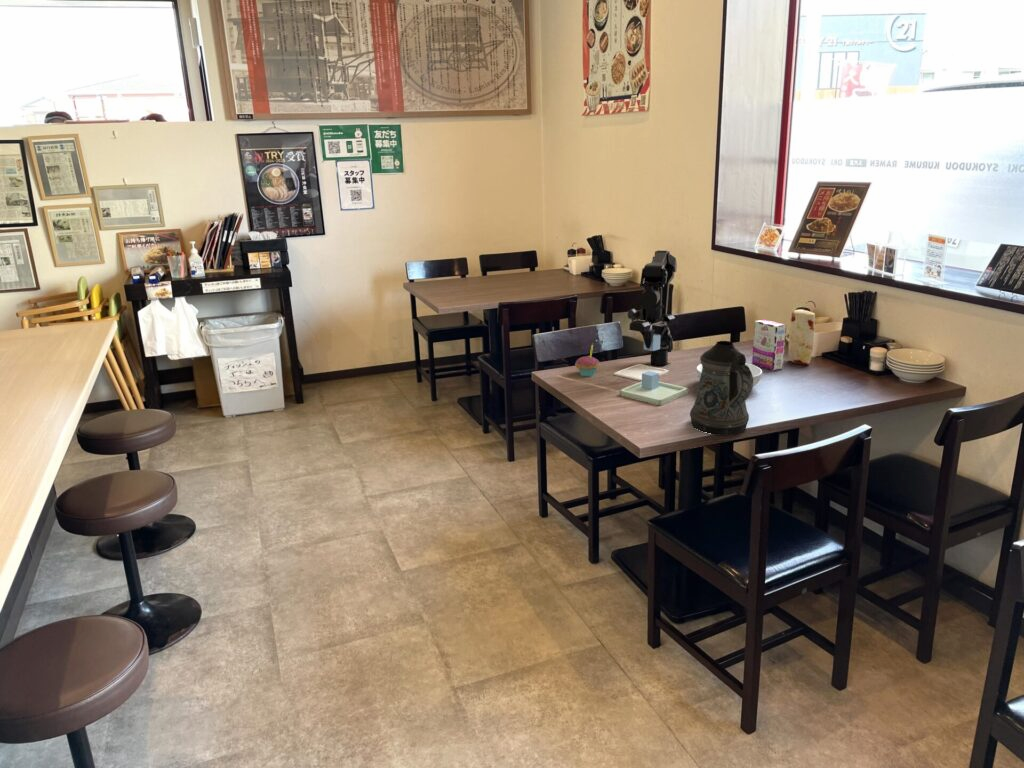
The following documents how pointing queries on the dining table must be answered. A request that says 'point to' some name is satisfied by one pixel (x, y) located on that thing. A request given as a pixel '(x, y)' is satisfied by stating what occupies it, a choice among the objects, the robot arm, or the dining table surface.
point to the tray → (654, 393)
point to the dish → (638, 371)
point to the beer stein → (722, 391)
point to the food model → (801, 336)
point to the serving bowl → (754, 369)
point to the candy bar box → (769, 344)
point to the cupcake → (587, 364)
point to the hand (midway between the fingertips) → (651, 347)
